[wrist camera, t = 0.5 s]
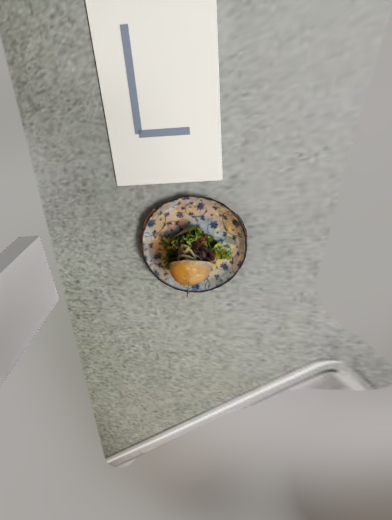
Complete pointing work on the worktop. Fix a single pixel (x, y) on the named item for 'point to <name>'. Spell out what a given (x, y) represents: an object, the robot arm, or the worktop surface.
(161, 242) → the salad plate
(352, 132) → the worktop surface
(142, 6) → the paper
